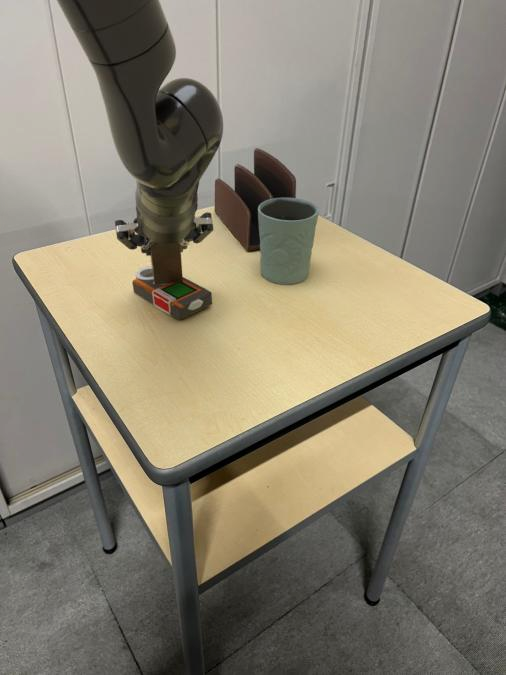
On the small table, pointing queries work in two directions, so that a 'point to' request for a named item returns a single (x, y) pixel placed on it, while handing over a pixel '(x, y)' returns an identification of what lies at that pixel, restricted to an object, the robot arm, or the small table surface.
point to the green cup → (286, 239)
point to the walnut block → (166, 263)
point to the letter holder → (252, 196)
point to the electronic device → (171, 294)
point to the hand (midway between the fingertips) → (163, 248)
